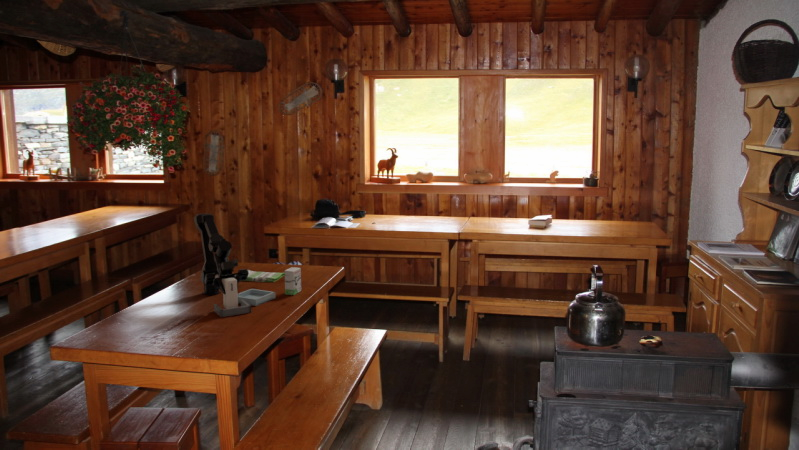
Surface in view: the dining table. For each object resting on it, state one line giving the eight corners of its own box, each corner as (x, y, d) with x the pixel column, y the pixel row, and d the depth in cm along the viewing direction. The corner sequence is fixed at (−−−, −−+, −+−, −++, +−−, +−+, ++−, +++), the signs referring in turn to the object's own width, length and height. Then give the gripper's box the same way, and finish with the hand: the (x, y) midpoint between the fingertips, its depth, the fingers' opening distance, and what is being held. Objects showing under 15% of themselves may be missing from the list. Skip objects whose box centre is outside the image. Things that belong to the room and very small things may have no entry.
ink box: (294, 295, 317) (293, 271, 315) (284, 294, 318) (283, 270, 316) (301, 290, 325) (301, 267, 323) (292, 290, 326) (291, 266, 324)
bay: (214, 310, 293) (213, 304, 292) (243, 306, 299) (243, 299, 299) (220, 317, 284) (220, 310, 283) (251, 312, 290) (251, 305, 290)
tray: (232, 302, 306) (231, 295, 306) (252, 294, 318) (251, 288, 318) (256, 306, 300) (255, 299, 299) (275, 298, 312) (275, 292, 311)
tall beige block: (223, 306, 294) (222, 278, 292) (234, 304, 297) (233, 277, 294) (227, 309, 289) (226, 282, 287) (238, 308, 291) (237, 280, 289)
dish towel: (245, 273, 361) (245, 267, 361) (286, 275, 357) (285, 269, 356) (232, 281, 345) (231, 275, 344) (274, 283, 340) (273, 277, 340)
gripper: (204, 256, 288) (212, 286, 280) (246, 251, 297) (255, 280, 290) (200, 269, 296) (208, 299, 288) (241, 264, 305) (250, 293, 298)
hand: (231, 293), depth 291 cm, fingers closed on tall beige block, 5 cm apart
